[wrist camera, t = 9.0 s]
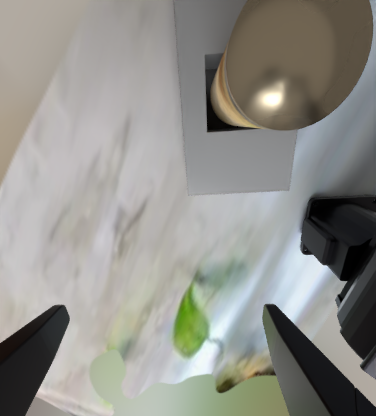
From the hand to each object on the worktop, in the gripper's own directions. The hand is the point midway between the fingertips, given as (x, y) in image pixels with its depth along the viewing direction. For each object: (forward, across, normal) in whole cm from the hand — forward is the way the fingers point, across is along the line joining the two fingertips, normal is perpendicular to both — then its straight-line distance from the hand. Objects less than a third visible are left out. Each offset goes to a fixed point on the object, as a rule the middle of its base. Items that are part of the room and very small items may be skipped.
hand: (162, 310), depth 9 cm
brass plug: (+9, -5, -9) cm, 14 cm away
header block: (+13, -5, -9) cm, 17 cm away
